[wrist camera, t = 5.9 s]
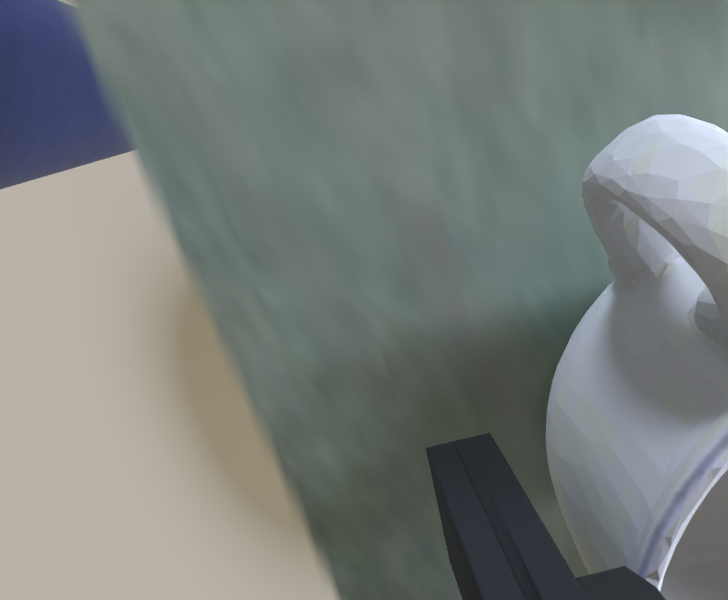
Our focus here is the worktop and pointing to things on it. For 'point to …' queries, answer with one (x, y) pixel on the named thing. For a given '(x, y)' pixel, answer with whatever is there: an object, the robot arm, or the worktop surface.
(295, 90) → the worktop surface
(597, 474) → the teacup
